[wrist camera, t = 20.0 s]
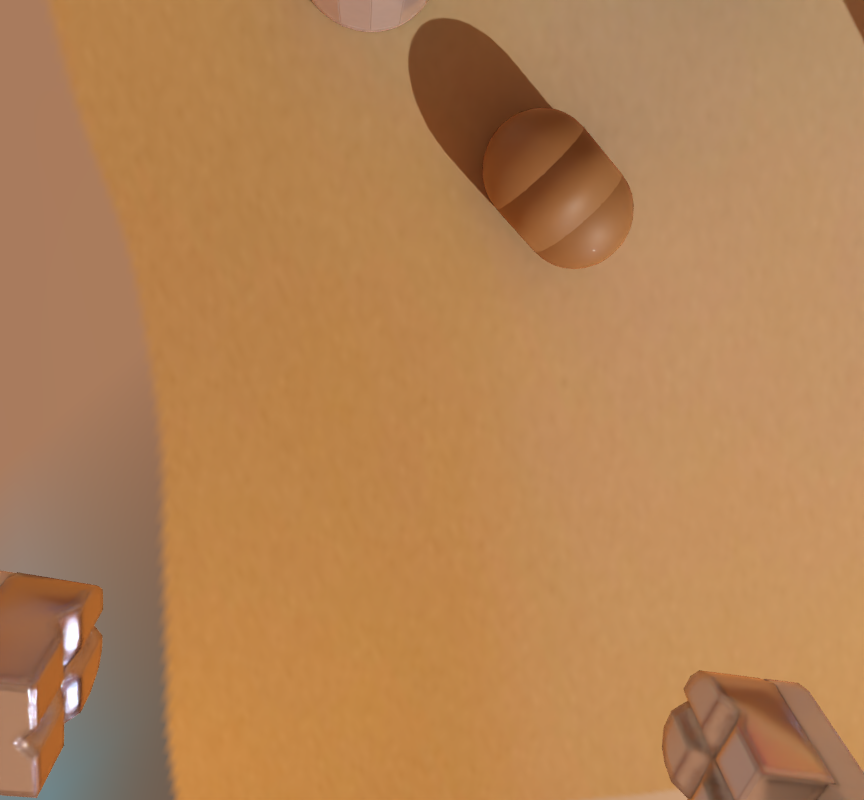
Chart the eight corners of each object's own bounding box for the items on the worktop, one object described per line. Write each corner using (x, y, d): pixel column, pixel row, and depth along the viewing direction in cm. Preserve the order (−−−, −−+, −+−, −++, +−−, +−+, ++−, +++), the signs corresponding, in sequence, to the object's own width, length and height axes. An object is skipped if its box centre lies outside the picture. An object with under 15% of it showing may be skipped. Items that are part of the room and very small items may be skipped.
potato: (444, 181, 28) (490, 139, 24) (512, 110, 29) (568, 58, 25) (551, 299, 30) (612, 280, 26) (611, 227, 31) (680, 198, 27)
